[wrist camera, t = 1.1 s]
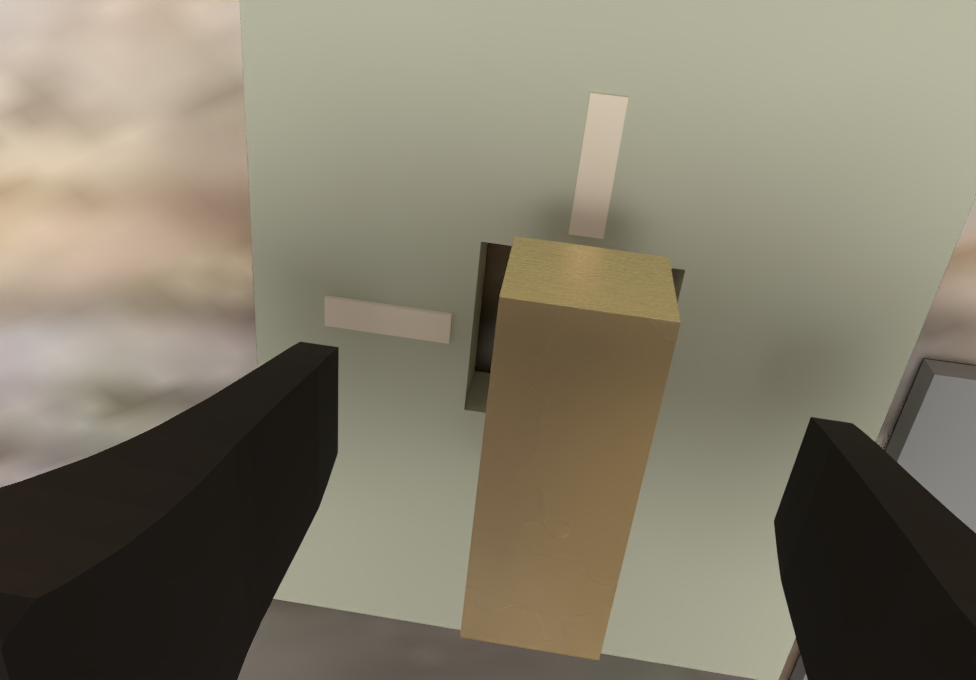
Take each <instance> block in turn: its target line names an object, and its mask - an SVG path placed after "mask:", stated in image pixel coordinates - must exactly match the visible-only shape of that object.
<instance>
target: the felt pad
mask: <svg viewBox="0 0 976 680" xmlns="http://www.w3.org/2000/svg"><path fill="white" fill-rule="evenodd" d="M886 452H887V453H888V454H889V455H890V456H891V457H892V458H893V459H894V460H895V461H896V462H897V463H898V464H900V465H901V466H902V467H903V468H904V469H905V470H906V471H907V472H908V473H909V474H910V475H911V476H912V477H913V478H915V479H916V480H917V481H918V482H919V483H920V484H921V485H922V486H923V487H924V488H925V489H926V490H928V491H929V492H930V493H931V494H932V495H933V496H934V497H935V498H936V499H937V500H939V501H940V502H941V503H942V504H943V505H944V506H945V507H946V508H947V509H949V510H950V511H951V512H952V513H953V514H954V515H955V516H956V517H958V518H959V519H960V520H961V521H962V522H963V523H965V524H966V525H967V526H968V527H969V528H970V529H971V530H973V531H974V532H975V533H976V366H972V365H965V364H958V363H951V362H944V361H937V360H930V359H924V360H923V362H922V365H921V367H920V370H919V372H918V374H917V377H916V379H915V381H914V384H913V386H912V389H911V391H910V393H909V396H908V398H907V401H906V403H905V405H904V408H903V410H902V413H901V415H900V417H899V420H898V422H897V424H896V427H895V429H894V432H893V434H892V436H891V439H890V441H889V444H888V446H887V448H886ZM790 680H808V679H807V675H806V672H805V668H804V665H803V661H802V657H801V654H800V656H799V659H798V661H797V663H796V666H795V668H794V671H793V673H792V675H791V678H790Z"/></svg>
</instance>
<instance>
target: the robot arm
mask: <svg viewBox="0 0 976 680" xmlns="http://www.w3.org/2000/svg"><path fill="white" fill-rule="evenodd" d="M338 359H339V347H334V346H327V345H320V344H314V343H307V342H299V343H297V344H295V345H293V346H291V347H290V348H288V349H287V350H285V351H283V352H282V353H280V354H279V355H277V356H275V357H274V358H272V359H271V360H269V361H268V362H266V363H264V364H263V365H261V366H260V367H258V368H257V369H255V370H254V371H252V372H250V373H249V374H247V375H246V376H244V377H242V378H241V379H239V380H237V381H236V382H234V383H233V384H231V385H229V386H228V387H226V388H224V389H223V390H221V391H220V392H218V393H216V394H215V395H213V396H211V397H210V398H208V399H206V400H204V401H202V402H201V403H199V404H197V405H195V406H193V407H191V408H190V409H188V410H186V411H184V412H182V413H180V414H179V415H177V416H175V417H173V418H171V419H170V420H168V421H166V422H164V423H162V424H160V425H159V426H157V427H155V428H153V429H151V430H149V431H147V432H144V433H142V434H140V435H138V436H136V437H134V438H132V439H130V440H127V441H125V442H123V443H120V444H118V445H116V446H114V447H111V448H109V449H107V450H104V451H102V452H100V453H97V454H95V455H93V456H90V457H88V458H85V459H83V460H80V461H77V462H74V463H71V464H68V465H66V466H63V467H60V468H57V469H54V470H52V471H49V472H46V473H43V474H40V475H37V476H35V477H32V478H29V479H26V480H23V481H21V482H17V483H14V484H11V485H8V486H4V487H1V488H0V680H237V678H238V676H239V673H240V670H241V668H242V665H243V663H244V660H245V657H246V655H247V652H248V650H249V647H250V645H251V643H252V641H253V639H254V636H255V634H256V632H257V630H258V628H259V625H260V623H261V621H262V619H263V617H264V615H265V613H266V611H267V609H268V608H269V606H270V604H271V602H272V600H273V598H274V596H275V594H276V592H277V590H278V588H279V586H280V584H281V582H282V580H283V578H284V576H285V574H286V572H287V570H288V568H289V566H290V564H291V563H292V561H293V559H294V557H295V555H296V553H297V551H298V549H299V547H300V545H301V543H302V541H303V539H304V537H305V535H306V533H307V531H308V529H309V527H310V525H311V523H312V521H313V519H314V517H315V515H316V513H317V511H318V509H319V507H320V504H321V501H322V498H323V495H324V493H325V490H326V487H327V484H328V481H329V478H330V475H331V472H332V469H333V466H334V463H335V460H336V457H337V454H338ZM774 528H775V538H776V547H777V556H778V563H779V570H780V577H781V583H782V587H783V591H784V595H785V599H786V602H787V606H788V610H789V614H790V617H791V621H792V625H793V629H794V632H795V636H796V639H797V643H798V647H799V650H800V654H801V657H802V661H803V665H804V668H805V672H806V675H807V679H808V680H976V533H975V532H974V531H973V530H971V529H970V528H969V527H968V526H967V525H966V524H965V523H963V522H962V521H961V520H960V519H959V518H958V517H956V516H955V515H954V514H953V513H952V512H951V511H950V510H949V509H947V508H946V507H945V506H944V505H943V504H942V503H941V502H940V501H939V500H937V499H936V498H935V497H934V496H933V495H932V494H931V493H930V492H929V491H928V490H926V489H925V488H924V487H923V486H922V485H921V484H920V483H919V482H918V481H917V480H916V479H915V478H913V477H912V476H911V475H910V474H909V473H908V472H907V471H906V470H905V469H904V468H903V467H902V466H901V465H900V464H898V463H897V462H896V461H895V460H894V459H893V458H892V457H891V456H890V455H889V454H888V453H887V452H886V451H884V450H883V449H882V448H881V447H880V446H879V445H878V444H877V443H876V442H875V441H873V440H872V439H871V438H870V437H869V436H868V435H867V434H865V433H864V432H863V431H862V430H861V429H859V428H858V427H857V426H856V425H854V424H853V423H848V422H842V421H835V420H828V419H821V418H815V417H811V418H810V421H809V423H808V426H807V429H806V432H805V435H804V437H803V440H802V443H801V446H800V449H799V452H798V454H797V457H796V460H795V463H794V466H793V468H792V471H791V474H790V477H789V480H788V482H787V485H786V488H785V491H784V494H783V496H782V499H781V502H780V505H779V508H778V510H777V513H776V516H775V519H774Z"/></svg>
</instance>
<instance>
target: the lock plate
mask: <svg viewBox="0 0 976 680" xmlns="http://www.w3.org/2000/svg"><path fill="white" fill-rule="evenodd" d="M240 19H241V39H242V59H243V80H244V100H245V121H246V141H247V161H248V182H249V202H250V222H251V243H252V263H253V284H254V304H255V324H256V345H257V365H258V367H260V366H261V365H263V364H264V363H266V362H268V361H269V360H271V359H272V358H274V357H275V356H277V355H279V354H280V353H282V352H283V351H285V350H287V349H288V348H290V347H291V346H293V345H295V344H297V343H299V342H307V343H314V344H320V345H327V346H334V347H339V359H338V454H337V457H336V460H335V463H334V466H333V469H332V472H331V475H330V478H329V481H328V484H327V487H326V490H325V493H324V495H323V498H322V501H321V504H320V507H319V509H318V511H317V513H316V515H315V517H314V519H313V521H312V523H311V525H310V527H309V529H308V531H307V533H306V535H305V537H304V539H303V541H302V543H301V545H300V547H299V549H298V551H297V553H296V555H295V557H294V559H293V561H292V563H291V564H290V566H289V568H288V570H287V572H286V574H285V576H284V578H283V580H282V582H281V584H280V586H279V588H278V590H277V592H276V594H275V596H274V598H273V599H278V600H284V601H290V602H296V603H302V604H308V605H314V606H320V607H326V608H332V609H338V610H344V611H350V612H356V613H362V614H368V615H374V616H380V617H386V618H392V619H398V620H404V621H410V622H416V623H422V624H428V625H434V626H440V627H446V628H452V629H458V630H461V623H462V614H463V605H464V597H465V588H466V579H467V571H468V562H469V553H470V545H471V536H472V527H473V519H474V510H475V501H476V493H477V484H478V475H479V467H480V458H481V450H482V441H483V432H484V424H485V415H486V406H487V398H488V389H489V380H490V373H485V372H478V371H475V361H476V352H477V342H478V333H479V323H480V313H481V304H482V294H483V285H484V275H485V266H486V256H487V246H488V243H494V244H501V245H508V246H512V244H513V240H514V236H518V237H525V238H533V239H540V240H547V241H555V242H562V243H569V244H576V245H584V246H591V247H598V248H605V249H613V250H620V251H627V252H634V253H642V254H649V255H656V256H664V257H669V259H670V265H671V268H672V269H671V270H672V276H673V282H674V287H675V293H676V298H677V304H678V310H679V315H680V321H681V324H680V328H679V332H678V337H677V341H676V345H675V349H674V353H673V357H672V361H671V366H670V370H669V374H668V378H667V382H666V386H665V390H664V394H663V399H662V403H661V407H660V411H659V415H658V419H657V423H656V428H655V432H654V436H653V440H652V444H651V448H650V452H649V456H648V461H647V465H646V469H645V473H644V477H643V481H642V485H641V490H640V494H639V498H638V502H637V506H636V510H635V514H634V518H633V523H632V527H631V531H630V535H629V539H628V543H627V547H626V552H625V556H624V560H623V564H622V568H621V572H620V576H619V580H618V585H617V589H616V593H615V597H614V601H613V605H612V609H611V614H610V618H609V622H608V626H607V630H606V634H605V638H604V642H603V647H602V651H601V653H602V654H608V655H614V656H620V657H626V658H632V659H638V660H644V661H649V662H655V663H661V664H667V665H673V666H679V667H685V668H691V669H697V670H703V671H709V672H715V673H721V674H727V675H733V676H739V677H745V678H751V679H757V680H779V677H780V675H781V672H782V670H783V667H784V665H785V662H786V660H787V658H788V655H789V653H790V650H791V648H792V645H793V643H794V640H795V638H796V636H795V632H794V629H793V625H792V621H791V617H790V614H789V610H788V606H787V602H786V599H785V595H784V591H783V587H782V583H781V577H780V570H779V563H778V556H777V547H776V538H775V528H774V519H775V516H776V513H777V510H778V508H779V505H780V502H781V499H782V496H783V494H784V491H785V488H786V485H787V482H788V480H789V477H790V474H791V471H792V468H793V466H794V463H795V460H796V457H797V454H798V452H799V449H800V446H801V443H802V440H803V437H804V435H805V432H806V429H807V426H808V423H809V421H810V418H811V417H815V418H821V419H828V420H835V421H842V422H848V423H853V424H854V425H856V426H857V427H858V428H859V429H861V430H862V431H863V432H864V433H865V434H867V435H868V436H869V437H870V438H871V439H872V440H873V441H875V442H876V440H877V437H878V435H879V432H880V430H881V427H882V425H883V422H884V420H885V418H886V415H887V413H888V410H889V408H890V405H891V403H892V400H893V398H894V396H895V393H896V391H897V388H898V386H899V383H900V381H901V378H902V376H903V373H904V371H905V369H906V366H907V364H908V361H909V359H910V356H911V354H912V351H913V349H914V347H915V344H916V342H917V339H918V337H919V334H920V332H921V329H922V327H923V325H924V322H925V320H926V317H927V315H928V312H929V310H930V307H931V305H932V302H933V300H934V298H935V295H936V293H937V290H938V288H939V285H940V283H941V280H942V278H943V276H944V273H945V271H946V268H947V266H948V263H949V261H950V258H951V256H952V254H953V251H954V249H955V246H956V244H957V241H958V239H959V236H960V234H961V231H962V229H963V227H964V224H965V222H966V219H967V217H968V214H969V212H970V209H971V207H972V205H973V202H974V200H975V197H976V0H240Z"/></svg>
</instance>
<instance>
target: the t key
mask: <svg viewBox="0 0 976 680" xmlns="http://www.w3.org/2000/svg"><path fill="white" fill-rule="evenodd" d="M680 324H681V321H680V315H679V310H678V304H677V298H676V293H675V287H674V282H673V276H672V270H671V265H670V259H669V257H664V256H656V255H649V254H642V253H634V252H627V251H620V250H613V249H605V248H598V247H591V246H584V245H576V244H569V243H562V242H555V241H547V240H540V239H533V238H525V237H518V236H514V240H513V244H512V248H511V252H510V256H509V260H508V264H507V268H506V272H505V276H504V280H503V284H502V288H501V292H500V296H499V302H498V311H497V320H496V328H495V337H494V346H493V354H492V363H491V372H490V380H489V389H488V398H487V406H486V415H485V424H484V432H483V441H482V450H481V458H480V467H479V475H478V484H477V493H476V501H475V510H474V519H473V527H472V536H471V545H470V553H469V562H468V571H467V579H466V588H465V597H464V605H463V614H462V623H461V631H460V637H462V638H468V639H474V640H480V641H486V642H492V643H498V644H504V645H510V646H516V647H522V648H528V649H534V650H540V651H546V652H552V653H558V654H564V655H570V656H576V657H582V658H588V659H594V660H599V659H600V655H601V651H602V647H603V642H604V638H605V634H606V630H607V626H608V622H609V618H610V614H611V609H612V605H613V601H614V597H615V593H616V589H617V585H618V580H619V576H620V572H621V568H622V564H623V560H624V556H625V552H626V547H627V543H628V539H629V535H630V531H631V527H632V523H633V518H634V514H635V510H636V506H637V502H638V498H639V494H640V490H641V485H642V481H643V477H644V473H645V469H646V465H647V461H648V456H649V452H650V448H651V444H652V440H653V436H654V432H655V428H656V423H657V419H658V415H659V411H660V407H661V403H662V399H663V394H664V390H665V386H666V382H667V378H668V374H669V370H670V366H671V361H672V357H673V353H674V349H675V345H676V341H677V337H678V332H679V328H680Z"/></svg>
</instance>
